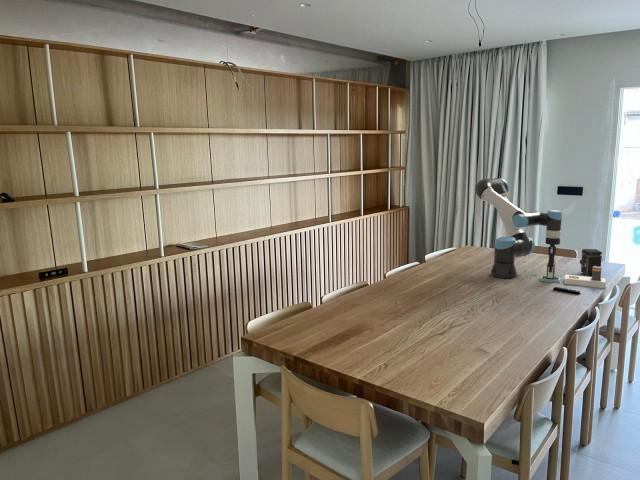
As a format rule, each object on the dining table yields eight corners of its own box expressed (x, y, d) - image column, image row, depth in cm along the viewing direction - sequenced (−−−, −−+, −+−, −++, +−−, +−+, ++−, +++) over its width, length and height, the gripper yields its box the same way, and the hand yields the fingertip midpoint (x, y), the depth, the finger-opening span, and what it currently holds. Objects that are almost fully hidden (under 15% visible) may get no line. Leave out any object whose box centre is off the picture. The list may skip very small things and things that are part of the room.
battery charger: (564, 284, 266) (565, 266, 264) (564, 280, 274) (566, 263, 272) (605, 288, 257) (606, 269, 255) (604, 284, 264) (606, 266, 262)
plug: (546, 280, 273) (547, 263, 271) (546, 278, 276) (547, 262, 274) (553, 281, 271) (555, 264, 269) (554, 279, 274) (555, 263, 272)
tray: (540, 281, 273) (540, 278, 272) (541, 278, 279) (541, 275, 279) (559, 283, 268) (559, 280, 267) (560, 280, 275) (560, 277, 274)
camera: (593, 271, 291) (595, 248, 288) (602, 276, 281) (604, 251, 278) (576, 271, 292) (578, 248, 289) (584, 276, 282) (586, 251, 279)
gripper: (559, 240, 259) (556, 280, 263) (561, 234, 275) (558, 272, 279) (544, 239, 262) (542, 279, 267) (546, 234, 279) (544, 271, 283)
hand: (550, 276), depth 273 cm, fingers open, 6 cm apart
